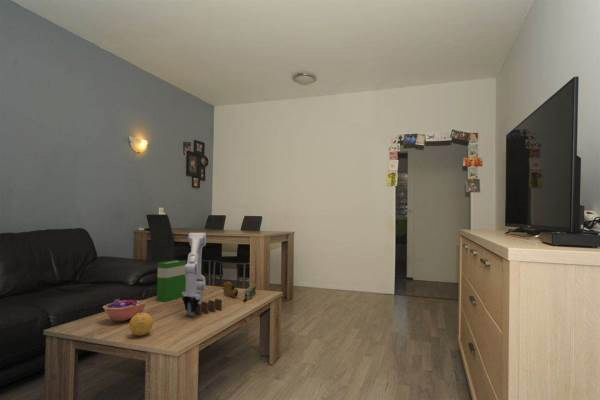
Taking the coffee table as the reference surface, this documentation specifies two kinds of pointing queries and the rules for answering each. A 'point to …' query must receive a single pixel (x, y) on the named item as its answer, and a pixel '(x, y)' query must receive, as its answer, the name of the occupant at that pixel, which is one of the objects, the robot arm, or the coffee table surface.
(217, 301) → the domino
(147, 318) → the stress ball
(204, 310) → the domino
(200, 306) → the domino
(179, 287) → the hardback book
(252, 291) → the handheld radio
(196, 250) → the robot arm
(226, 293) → the wooden carving
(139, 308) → the cell model
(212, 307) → the domino
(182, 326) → the coffee table surface
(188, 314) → the domino
